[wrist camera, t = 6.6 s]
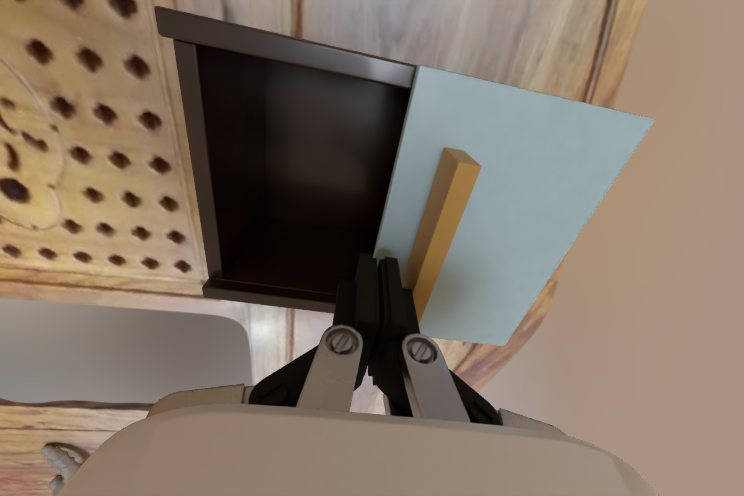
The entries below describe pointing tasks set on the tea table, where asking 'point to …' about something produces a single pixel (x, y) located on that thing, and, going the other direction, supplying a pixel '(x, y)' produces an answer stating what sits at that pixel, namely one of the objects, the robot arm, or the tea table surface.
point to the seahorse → (60, 466)
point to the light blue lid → (493, 197)
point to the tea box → (285, 156)
